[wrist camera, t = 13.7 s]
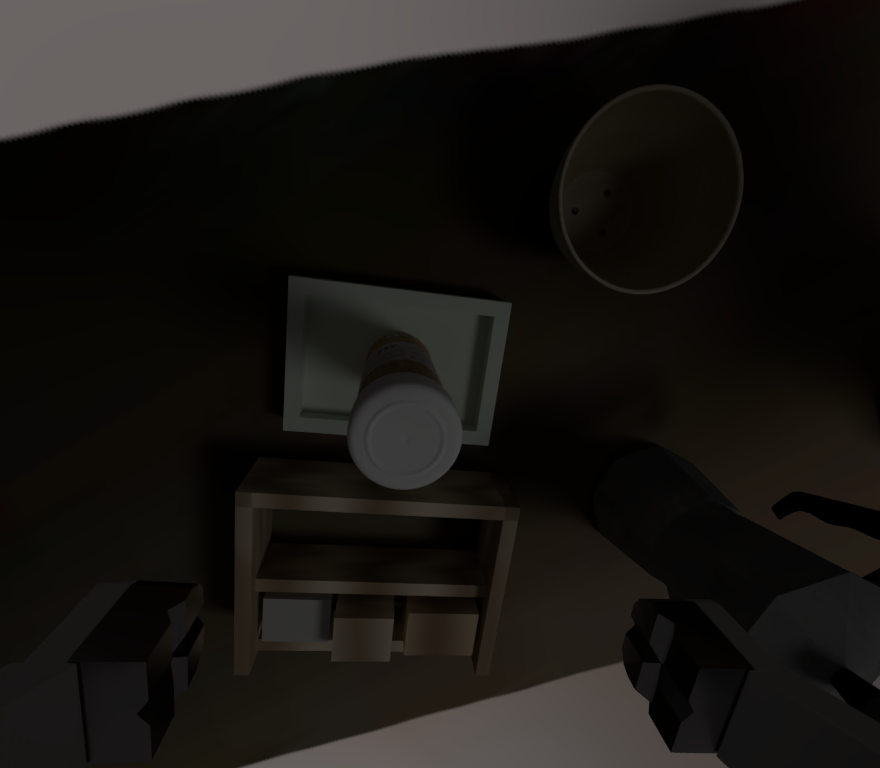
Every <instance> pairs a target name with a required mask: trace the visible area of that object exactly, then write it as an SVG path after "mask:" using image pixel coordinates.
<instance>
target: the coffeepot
mask: <svg viewBox="0 0 880 768" xmlns="http://www.w3.org/2000/svg"><path fill="white" fill-rule="evenodd" d="M592 499H593V504H594V513H595V516H596V519H597V522H598V527H599V531H600V533H601V534H602V535H603V536H604V537H605V538H607V539H608V540H609V541H610V542H611V543H613V544H614V545H615V546H616V547H617V548H619V549H620V550H621V551H622V552H624V553H625V554H626V555H627V556H628V557H630V558H631V559H632V560H633V561H634V562H636V563H637V564H638V565H639V566H640V567H642V568H643V569H644V570H645V571H646V572H648V573H649V574H650V575H651V576H653V577H655V578H656V579H658V580H660V581H662V582H663V583H664V584H665V585H666V586H667V589H668V594H669V598H670V599H679V600H687V599H711V600H713V601H715V602H716V603H718V604H720V605H721V606H722V607H723V608H724V609H725V610H726V611H727V612H728V613H729V614H730V615H731V616H732V617H733V618H734V620H735V621H736V622H737V623H738V624H739V625H740V626H741V627H742V628H743V629H744V630H745V631H746V632H747V633H748V634H749V635H750V636H751V637H752V638H753V639H754V640H755V641H756V642H757V643H758V644H759V645H760V646H761V647H762V649H763V650H764V651H765V652H766V653H767V654H768V655H769V656H770V657H771V658H772V659H773V660H774V661H775V662H776V663H777V664H778V665H779V666H780V667H781V668H782V669H783V670H784V671H793V672H794V673H796V674H798V675H799V676H801V677H803V678H804V679H806V680H808V681H809V682H811V683H813V684H815V685H816V686H818V687H820V688H821V689H823V690H825V691H826V692H828V693H830V694H831V695H833V696H835V697H837V698H838V699H840V700H842V701H843V702H845V703H847V704H848V705H850V706H852V707H853V708H855V709H857V710H858V711H860V712H862V713H864V714H865V715H867V716H869V717H870V718H872V719H874V720H875V721H877V722H879V723H880V690H879V689H878V688H876V687H875V686H873V685H872V683H873V682H874V681H875V680H876V679H877V677H878V676H879V675H880V568H879V569H878V570H876V571H874V572H872V573H870V574H868V575H866V576H864V577H862V578H861V577H859V576H857V575H855V574H854V573H852V572H850V571H848V570H845V569H843V568H841V567H839V566H837V565H835V564H833V563H832V562H830V561H828V560H826V559H824V558H822V557H820V556H818V555H816V554H814V553H812V552H810V551H808V550H807V549H805V548H803V547H801V546H799V545H797V544H795V543H793V542H791V541H789V540H787V539H785V538H783V537H781V536H780V535H778V534H776V533H774V532H772V531H770V530H768V529H766V528H764V527H762V526H760V525H758V524H756V523H755V522H753V521H751V520H749V519H747V518H745V517H743V516H741V513H740V511H739V510H738V509H737V508H736V507H735V506H734V505H733V504H732V503H731V502H730V501H729V500H728V499H727V498H726V497H725V496H724V495H723V494H722V493H721V492H720V491H719V490H718V489H717V488H716V487H715V486H714V485H713V484H712V483H711V482H710V481H709V480H708V479H707V478H706V477H705V476H704V475H703V474H702V473H701V471H700V470H699V469H698V468H697V467H696V466H695V465H694V464H692V463H690V462H689V461H687V460H685V459H683V458H681V457H679V456H678V455H676V454H674V453H672V452H670V451H668V450H666V449H664V448H662V447H660V446H657V447H652V448H648V449H643V450H639V451H635V452H633V453H630V454H628V455H626V456H624V457H622V458H620V459H617V460H616V461H615V462H614V463H613V464H612V465H611V466H610V468H609V469H608V470H607V471H606V472H605V474H604V475H603V476H602V478H601V480H600V482H599V484H598V486H597V489H596V491H595V493H594V494H593V496H592ZM772 510H773V512H774V513H775V515H776V516H777V518H778V519H782V518H783V517H785V516H787V515H789V514H791V513H793V512H797V511H804V512H807V513H810V514H812V515H813V516H815V517H817V518H819V519H820V520H822V521H824V522H826V523H829V524H833V525H837V526H843V527H849V528H852V529H855V530H858V531H860V532H862V533H864V534H866V535H868V536H871V537H873V538H875V539H878V540H880V511H877V510H873V509H869V508H865V507H861V506H857V505H853V504H849V503H845V502H841V501H836V500H832V499H828V498H824V497H820V496H816V495H812V494H808V493H804V492H792V493H790V494H788V495H787V496H785V497H784V498H782V499H781V500H780V501H778V502H777V503H776V504H775V505H773V506H772Z"/></svg>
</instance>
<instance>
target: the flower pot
mask: <svg viewBox="0 0 880 768" xmlns="http://www.w3.org/2000/svg"><path fill="white" fill-rule="evenodd" d="M743 183H744V173H743V162H742V156H741V151H740V147H739V144H738V142H737V138H736V136H735V134H734V131H733V129H732V127H731V126H730V124H729V122H728V121H727V119H726V118H725V117H724V115H723V114H722V113H721V111H720V110H719V109H718V108H717V107H716V106H714V105H713V104H712V103H711V102H710V101H708V100H707V99H706V98H704V97H703V96H701V95H700V94H698V93H696V92H693V91H692V90H689V89H686V88H683V87H679V86H674V85H665V84H664V85H662V84H655V85H647V86H642V87H638V88H635V89H632V90H630V91H627V92H625V93H623V94H621V95H619V96H617V97H616V98H614V99H612V100H611V101H609V102H608V103H607V104H605V105H604V106H603V107H602V108H600V109H599V110H598V111H597V112H596V113H595V114H594V115H593V116H592V117H591V118H590V119H589V120H588V121H587V122H586V124H585V125H584V126H583V127H582V128H581V130H580V131H579V132H578V134H577V135H576V136H575V138H574V139H573V141H572V142H571V144H570V145H569V147H568V149H567V150H566V152H565V154H564V156H563V158H562V160H561V162H560V164H559V167H558V169H557V171H556V174H555V177H554V180H553V184H552V188H551V193H550V200H549V221H550V226H551V231H552V234H553V237H554V239H555V242H556V244H557V246H558V248H559V249H560V251H561V253H562V254H563V255H564V257H565V258H566V259H567V260H568V262H569V263H570V264H571V265H572V266H573V267H574V268H576V269H577V270H578V271H579V272H580V273H582V274H583V275H585V276H586V277H588V278H589V279H591V280H593V281H594V282H596V283H598V284H600V285H602V286H605V287H607V288H610V289H613V290H616V291H619V292H624V293H629V294H653V293H658V292H662V291H666V290H669V289H671V288H674V287H676V286H678V285H680V284H682V283H684V282H686V281H688V280H689V279H691V278H692V277H694V276H695V275H696V274H698V273H699V272H700V271H701V270H702V269H703V268H704V267H706V266H707V265H708V264H709V263H710V262H711V261H712V259H713V258H714V257H715V256H716V255H717V253H718V252H719V251H720V249H721V248H722V247H723V245H724V243H725V242H726V240H727V238H728V236H729V234H730V232H731V230H732V228H733V226H734V224H735V221H736V218H737V215H738V212H739V209H740V204H741V199H742V193H743ZM605 191H607V193H606V195H604V192H605ZM573 212H576V213H577V214H573ZM603 229H604V230H605V234H604V233H603Z"/></svg>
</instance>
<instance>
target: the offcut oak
mask: <svg viewBox="0 0 880 768" xmlns="http://www.w3.org/2000/svg"><path fill="white" fill-rule="evenodd" d="M478 617H479V613H478V609H477V605H476V601H475V597H447V596H409V595H403V600H402V618H403V652H404V655H472V652H473V646H474V640H475V634H476V628H477V622H478Z"/></svg>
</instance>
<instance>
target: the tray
mask: <svg viewBox="0 0 880 768" xmlns="http://www.w3.org/2000/svg"><path fill="white" fill-rule="evenodd" d="M511 305H512V303H510V302H507V301H502V300H494V299H486V298H478V297H470V296H461V295H453V294H445V293H437V292H429V291H421V290H413V289H404V288H396V287H388V286H380V285H372V284H364V283H356V282H348V281H339V280H331V279H323V278H315V277H307V276H299V275H292V276H289V280H288V307H287V335H286V363H285V390H284V418H283V430H286V431H299V432H312V433H326V434H339V435H347V429H348V423H349V418H350V414H351V410H352V407H353V405H354V403H355V400H356V398H357V396H358V390H359V386H360V382H361V378H362V374H363V370H364V367H365V361H366V357H367V355H368V352H369V350H370V348H371V347H372V346H373V345H374V344H375V342H376V341H378V340H379V339H381V338H383V337H384V336H387V335H390V334H394V333H402V334H408V335H411V336H413V337H415V338H417V339H419V340H420V341H421V342H422V343H423V344H424V345H425V347H426V348H427V350H428V352H429V355H430V357H431V360H432V362H433V365H434V367H435V369H436V372H437V374H438V376H439V378H440V381H441V383H442V385H443V388H444V389H445V390H446V391H447V392H448V393H449V395H450V396H451V398H452V400H453V402H454V404H455V406H456V408H457V411H458V413H459V416H460V419H461V424H462V432H463V435H462V444H472V445H485V446H488V445H489V439H490V433H491V427H492V421H493V415H494V409H495V403H496V397H497V391H498V384H499V378H500V372H501V366H502V360H503V354H504V348H505V342H506V336H507V330H508V324H509V318H510V312H511Z"/></svg>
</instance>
